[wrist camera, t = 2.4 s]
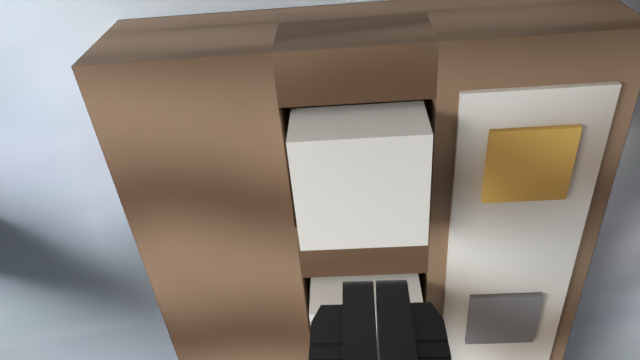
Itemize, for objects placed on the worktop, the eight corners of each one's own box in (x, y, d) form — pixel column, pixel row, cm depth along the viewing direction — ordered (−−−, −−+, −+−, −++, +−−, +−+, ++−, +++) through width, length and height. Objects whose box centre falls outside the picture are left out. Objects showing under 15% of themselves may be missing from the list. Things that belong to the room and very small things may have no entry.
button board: (118, 19, 18) (65, 71, 15) (597, -15, 17) (665, 32, 14) (229, 395, 31) (215, 473, 27) (511, 388, 30) (536, 468, 26)
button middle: (311, 273, 20) (308, 314, 19) (417, 269, 20) (424, 310, 18) (319, 341, 23) (317, 383, 21) (415, 338, 22) (421, 381, 21)
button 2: (290, 108, 16) (286, 142, 15) (423, 100, 16) (433, 134, 14) (303, 211, 19) (300, 251, 17) (419, 206, 18) (427, 245, 17)
